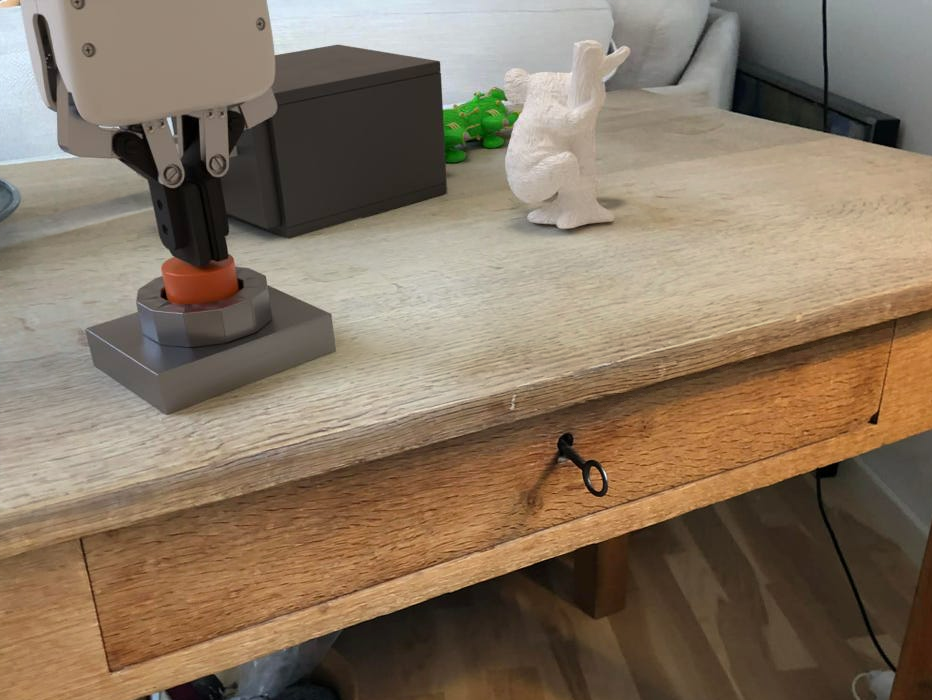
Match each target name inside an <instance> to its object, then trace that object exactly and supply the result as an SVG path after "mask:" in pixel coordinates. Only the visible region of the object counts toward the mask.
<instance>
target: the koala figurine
mask: <svg viewBox="0 0 932 700" xmlns="http://www.w3.org/2000/svg"><path fill="white" fill-rule="evenodd" d="M604 47H605V46H604V45H603V44H601V43H600V42H599V41H597V40H595V39H584V40H581V41H578V42H574V43H573V50H572V51H573V52H572V63H571V70H570V71H569V72H560V71H557V72H552V71H540V72H534V73H532V74H530V73H529V72H527V71H526V70H525V69H523V68H521V67H519V68H516V67H514V68H511V69H509V70H508V71H507V72H506V74H504V78H503V91H504V93H505V97H506V98H507V100H508V101H507V102H509V103H511V104H513V105H518V104H521V103H523V102H524V103H523V107H522V111H523V112H522V113H520V115H519V117H518V119H517V121H516V122H515V123H514V127H513V126H512V127H513V128H512V131H511V134H510V139H509V142H508V145H507V150H506V155H505V158H504V161H505V162H504V170H505V174H506V179H507V183H508V185H509V188H510V190H511V192H512V193H513V194H514V196H515V197H516V199H518V200H519V201H521V202H523V203H527V204H539V203H541V202H543V201H546V200H548V199H550V198H552V197H553V196H554V195H555V194H556V193H557V197H556V198H555V199H554V200H552V201H551V202H549V203H548V204H545V205H543V206H541V207H540V208H536V209H534V210H533V211H529V213H528V214H527V215H526V216H527V220H528V221H529V222H530V223H532V224H538V225H539V224H543V225H556V227H557V228H559V229H561V230H562V229H563V230H567V229H575V228H578V227H580V226H585V225H588V224H597V223H608V222H609V223H611V222H613V221H614V220H615V216H614V214H613V213H612V212H611V211H610V210H609V209H607V208H605V207H603V206H602V205H600V203H599V201H598V200H597V196H596V194H597V186H598V184H599V182H598V179H597V178H598V172H597V170H598V169H597V163H596V151H597V143H596V132H595V131H596V125H597V118H598V116H599V112H601V110H602V107H603V106H604V104H605V102H606V98H607V91H606V83H605V82H604V81H603V78H604V77H606V76H607V75H609V74H611V73H612V72H614V70H615V69H617V68H618V67H619V66H621V65H622V64H623V63H624V62H625V61H626V60H627V58H628V57H629V56H630V54H631V48H630V47H629V46H627V45H622V46H620V47H619V48H618V49H616V50H615V51H613V52H612V53H610V54H607V55H606V54H605V53H606V48H604Z"/></svg>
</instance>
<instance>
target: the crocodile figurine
mask: <svg viewBox="0 0 932 700" xmlns="http://www.w3.org/2000/svg"><path fill="white" fill-rule="evenodd" d="M473 96H474V97H473V98H472V99H471V100H470V101H469V100H468V101H467V102H465V103H461V104H459V105H457V104H456V103H454V104H453V105H452V108H446V109H443V122H444V142H445V161H446V163H451V164H452V163H459V162H462V161H464V160H465V159H466V157H467V152H465V151H463V150H460V149H458V148H456V147H457V146H458V145H461V146H463V147H464V146H466V142H467V141H474V140H477V141H480V140H481V138H482V139H483V141H482V146H483V147H484V148H488V149H495V148H499V147H501V146H503V144H504V142H505V139H504V138H503V137H501V136H499V135H498V136H497V135H496V134H494V133H496V132H497V133H502V130H503V129H505V130H509V129H513V127H514V123H515V122H516V121H517V119H518V117H519V115H520V113H522V112H523V110H518V109H517V110H512V112H510V114H508V112H509V109H507V108H506V106H505V104H504V103H503V101H504V102H509V101H508V100H507V98H506V97H505V93H504V89H502V88H499V87H497V86H493V87H491V89H488V92H486V93H484V92H481V91H476V92H474V93H473Z"/></svg>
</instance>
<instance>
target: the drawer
mask: <svg viewBox="0 0 932 700" xmlns="http://www.w3.org/2000/svg"><path fill="white" fill-rule="evenodd" d="M170 121H171V125H172V126H171V127H172V131H173V134H172V136H173V139H174V142H175V145H176V148H177V151H178V137H177V119H176V116H175V117H170ZM220 178H221V184H222V190H223V196H224V202H225V207H226V213H228V214H231V215H233V216H236V217H238V218H241V219H244V220H246V221H249V222H251V223H254V224H256V225H259V226H262V227H264V228H267V229H269V228H272V227H276V226H279V225H282V223H281V216H280V209H279V202H278V194H277V187H276V180H275V173H274V166H273V159H272V151H271V144H270V137H269V130H268V123H267V119H266V120H264V121H263V122H261V123H259V124H257V125H255V126H253V127H251V128H250V129H245V130H244V131H243V133H242V135H241V136H240V138H239V140H238V142H237V143H236V145H235V147H234V148H233V150H232V152H231V154H230V155H229V168H228V171H227V172H226V174H225V175H223V176H222V177H220Z"/></svg>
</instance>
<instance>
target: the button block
mask: <svg viewBox="0 0 932 700" xmlns="http://www.w3.org/2000/svg"><path fill="white" fill-rule="evenodd" d="M235 268H236V274H237V280H238V286H239V292H237V293H236V294H235V295H233V296H231V297H228V298H225V299H222V300H218V301H215V302H207V303H198V304H182V303H171V302H169V301H168V299H167V295H166V290H165V285H164V280H163V275H161V276H158V277H155V278H153V279H152V280H150V281H149V282H147V283H146V284H144V285H142V286H141V287H139V288H138V289H137V295H136V299H135V305H136V308H137V311H136V312H133V313H129V314H127V315H124V316H123V315H122V316H121V317H117V318H114V319H111V320H107V321H104V322H101V323H98V324H94V325H91V326H88V327H85V328H84V332H85V336H86V341H87V344H88V348H89V351H90V354H91V360H92V363H93V366H94V367H95V368H96V369H97V370H99V371H100V372H102V373H104V374H105V375H107V376H108V377H110V378H111V379H112V380H113V381H115V382H117V383H118V384H120V385H121V386H123V387H124V388H126V389H127V390H128V391H130V392H131V393H133V394H134V395H135V396H137V397H139V398H140V399H141V400H143V401H144V402H147V404H149V405H150V406H152V407H153V408H154V409H156V410H158V411H159V412H161V413H162V414H163V415H164V416H168V415H171V414H174V413H177V412H179V411H182V410H184V409H186V408H190V407H192V406H195V405H197V404H201V403H203V402H206V401H209V400H211V399H213V398H216V397H219V396H221V395H223V394H227V393H230V392H232V391H234V390H237V389H241V388H242V387H246V386H248V385H250V384H254V383H256V382H258V381H261V380H264V379H266V378H269V377H271V376H274V375H276V374H280V373H282V372H284V371H287V370H290V369H293V368H296V367H298V366H301V365H304V364H306V363H308V362H309V363H310V362H312V361H314V360H317V359H319V358H322V357H325V356H328V355H330V354H332V353H335V352H336V351H337V349H336V340H335V331H334V325H333V323H334V322H333V316H332V313H331V312H328V311H326V310H324V309H321V308H319V307H318V306H316V305H313V304H311V303H308V302H307V301H304V300H302V299H300V298H297V297H296V296H293V295H291V294H288V293H287V292H284V291H282V290H280V289H277V288H276V287H273V286H272V285H269V284H268V280H267V276H266V275H265V274H263V273H261V272H259V271H257V270H254V269H252V268H249V267H245V266H243V267H242V266H235Z"/></svg>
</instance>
